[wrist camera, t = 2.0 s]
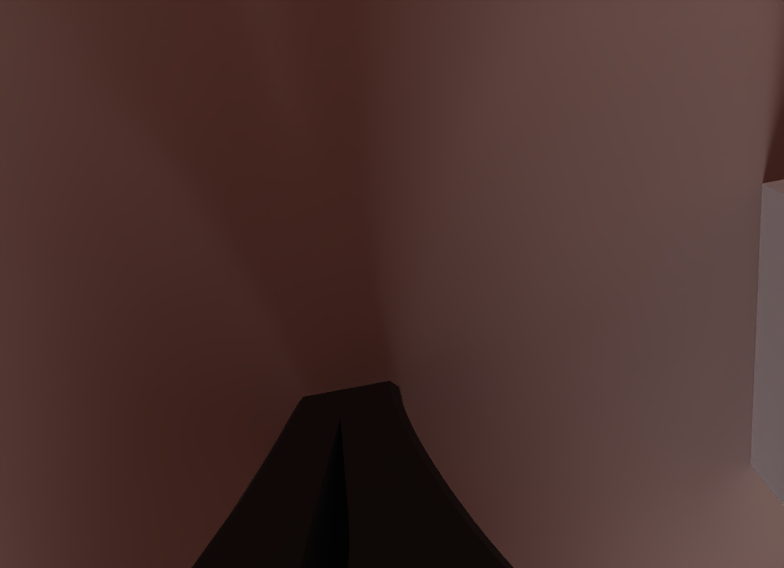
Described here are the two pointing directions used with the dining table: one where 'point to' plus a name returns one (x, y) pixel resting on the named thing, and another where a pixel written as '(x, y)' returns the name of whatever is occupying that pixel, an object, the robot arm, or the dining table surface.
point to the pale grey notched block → (770, 345)
